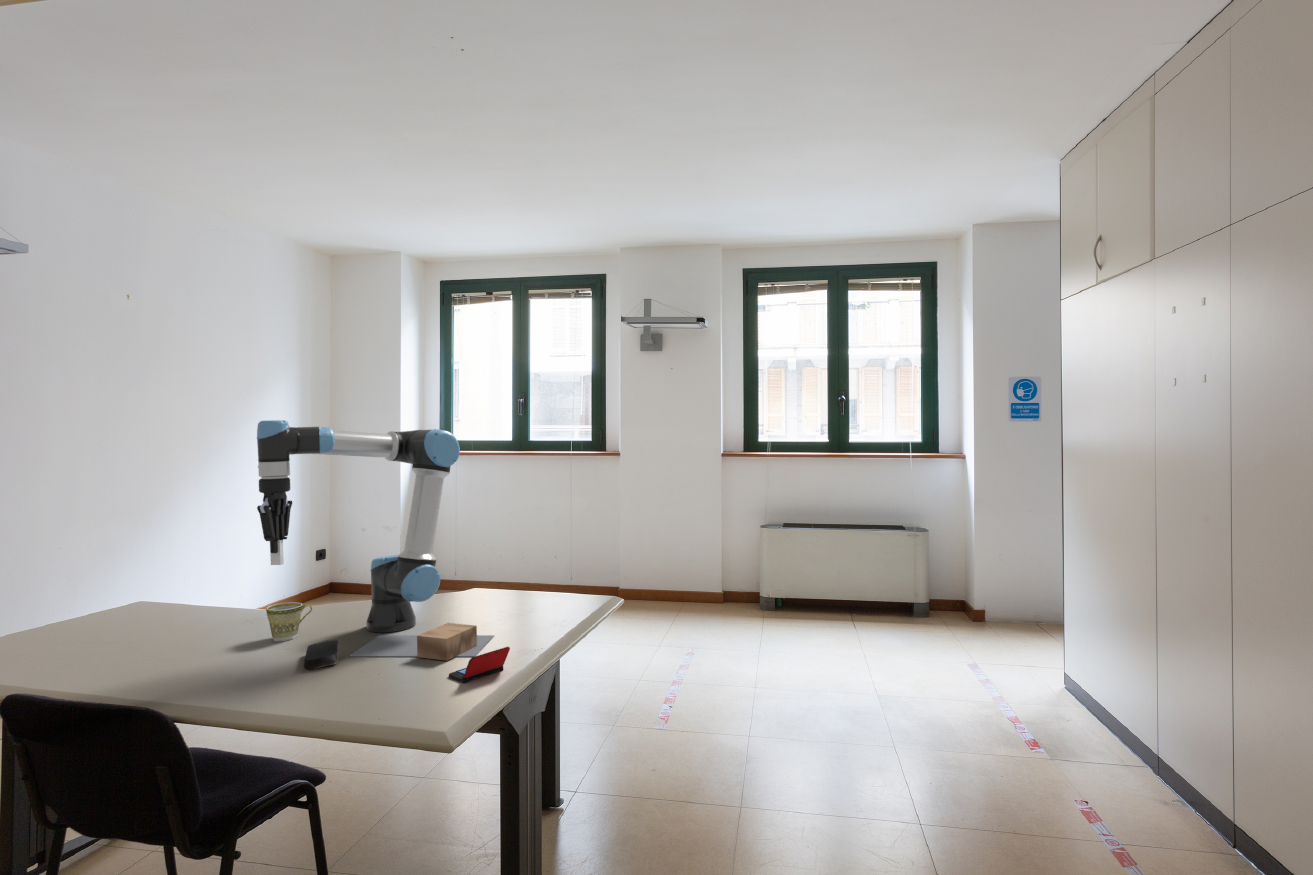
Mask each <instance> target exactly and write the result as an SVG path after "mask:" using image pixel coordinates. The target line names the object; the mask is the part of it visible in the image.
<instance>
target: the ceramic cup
mask: <svg viewBox="0 0 1313 875" xmlns="http://www.w3.org/2000/svg"><path fill="white" fill-rule="evenodd" d="M306 607H310V610H309V611H308V612H307V613H306V614H305V615H304V616H303V617H302V612H303V610H304V609H305V608H306ZM312 610H313V607H312V605H311V604H304V605H303V603H302V602H299V601H298V602H295V601H293V602H289V601H288V602H280V603H276V604H275V603H274V604H271V605H269V606H266V609H265V611H266V616H267V620H268V623H269V628H270V632H271V637H272V640H273V641H274V642H286V641H292V640H294V639H296V638H297V637H298V634H299V629H300V625H301V623H302V622H303V620H305V618H306V617H307V616H308V615H309V614H311V612H312ZM301 617H302V619H301Z"/></svg>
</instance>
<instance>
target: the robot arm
mask: <svg viewBox="0 0 1313 875" xmlns="http://www.w3.org/2000/svg"><path fill="white" fill-rule="evenodd" d="M256 427H257V428H256V440H257V442H256V444H257V461H258V464H257V469H258V477H260V478H259V479H258V492H259V493H262V494H263V498H262V504H261V505H257V507H256V509H257V511H258V513H259V519H260V523H261V528H262V533H263V539H264V540H265V541H266V542H269V550H270V557H269V558H270V566H282V565H284V562H285V561H284V540H287V539H288V535H289V528H290V519H291V518H290V517H291V509H292V506H293V501H292V500H288V496H287V493H286V492H290V491H291V478H290V477H288V476H290V475H291V470H290V468H291V467H290V459H291V458H290V455H326V456H344V457H345V456H346V457H365V458H366V457H370V458H384V459H386V461H388V462H399V463H406V464H411V465H412V466H411V470H412V471H413V472H414V474H415V481H414V485H413V486H414V487H413V493H412V499H411V505H410V512H409V518H408V523H407V528H406V536H405V543H404V548H403V551H402V552H400V553H399V554H393V555H392V554H391V555H385V556H380V557H375V558H373V559H372V560H371V563H370V564H371V565H370V573H371V574H370V575H371V576H370V582H371V583H370V584H371V588H370V589H371V606H370V609H369V611H368V612H369V613H368V616H367V619H366V624H365V625H366V628H365V629H366V630H367V631H368V632H372V633H394V632H399V631H405V630H408V629H411V628H412V627H415V626H416V624H417V618H416V613H415V611H414V609H413V608H414V607H413V606H412V603H413V602H414V603H421V602H422V603H423V602H426V601H428V600H429V599H431V598H432V597H433V596H434V595H436V593H437V591H438V590H439V587H440V584H441V574H440V572H439V570H438V569H437V567H436V563H437V558H436V556H435V555H434V552H433V551H434V545H435V538H436V532H437V525H438V518H439V513H440V505H441V500H442V493H443V492H442V491H443V486H444V481H445V478H446V477H447V476H449V475H450V472H451V466H452V465H454V464H455V463H456V462H457V461H458V459H459V457H460V453H461V449H460V443H459V441H458V439H457V438H456V436H455V435H454V434H453V433H452V432H450V431H448V430H445V429H436V428H434V429H415V430H407V431H388V432H387V433H375V432H373V433H372V432H361V431H360V432H359V431H345V430H335V429H334V430H333V429H332V428H330V427H329V426H300V427H299V426H298V427H296V426H295V427H292V426H291V427H290V425H289V421H287V420H284V419H283V420H280V419H277V420H275V419H273V420H260V421H259V422H258V423H257V426H256ZM411 602H412V603H411Z"/></svg>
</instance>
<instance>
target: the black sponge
mask: <svg viewBox="0 0 1313 875" xmlns="http://www.w3.org/2000/svg"><path fill="white" fill-rule="evenodd" d="M339 644H340V642H339V640H338V639H334V640H326V641H322V642H317V643H314V644H313V643H312V644H310V645H308V646H307V648H306V653H305V657H304V660H303V667H304V669H305V670H312V669H319V668H323V667H327V666H332V665H336V664H337V663H338V661H339Z"/></svg>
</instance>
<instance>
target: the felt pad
mask: <svg viewBox="0 0 1313 875" xmlns="http://www.w3.org/2000/svg"><path fill="white" fill-rule="evenodd" d="M494 637H495V635H494V634H493V635H492V634H491V635H487V634H485V635H483V634H482V635H481V634H480V635H478V634H477V646H476V647H474V648H472V649H470V650H468V651H466V652H464V653H462V654H460V655H458V656H456V657H455V658H472V657H475V656H478V654H479V653H480V652H481V651H482V650H483V649H484V648H485V647H486V646H487V645H488V644H489V643H490V641H491V640H492V639H494ZM348 657H349V658H418V657H417V634H416V635H413V634H412V635H411V634H409V635H408V634H407V635H401V634H399V635H398V634H397V635H396V634H395V635H393V634H392V635H389V634H388V635H387V634H386V635H385V634H383V635H381V634H380V635H378V636H377V637H375V638H373V639H372V640H371V641H369V642H367V643H366V644H365V645H363V646H362V647H360V648H358V649H356V651H354V652H353V653H352V654H350V655H349V656H348Z"/></svg>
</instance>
